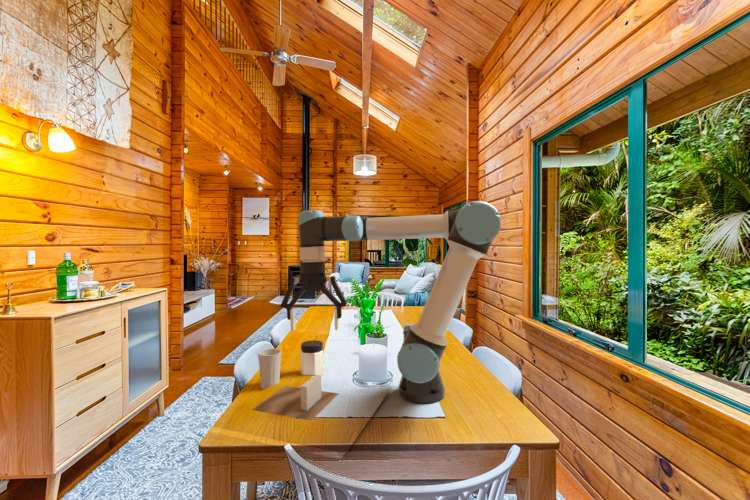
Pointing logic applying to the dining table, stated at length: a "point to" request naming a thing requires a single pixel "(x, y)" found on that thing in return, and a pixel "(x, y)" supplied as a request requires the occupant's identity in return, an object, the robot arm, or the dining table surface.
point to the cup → (269, 367)
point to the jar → (312, 358)
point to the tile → (310, 392)
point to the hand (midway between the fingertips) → (314, 329)
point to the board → (293, 403)
